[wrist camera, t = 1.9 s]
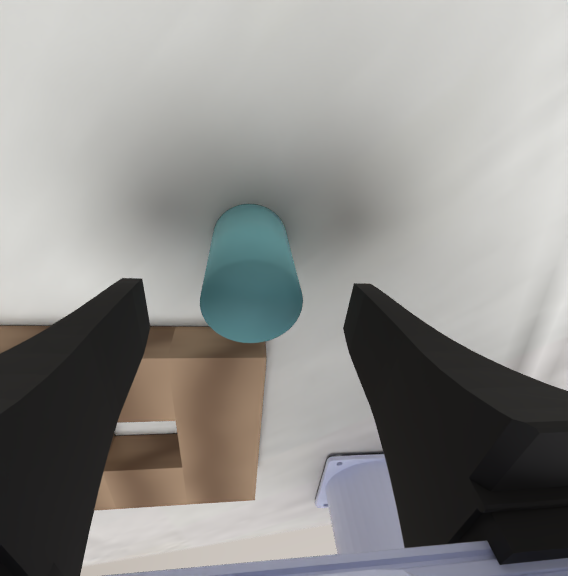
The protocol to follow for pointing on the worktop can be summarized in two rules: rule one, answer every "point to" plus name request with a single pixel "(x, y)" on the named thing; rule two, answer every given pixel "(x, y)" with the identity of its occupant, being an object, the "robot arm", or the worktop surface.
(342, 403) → the worktop surface
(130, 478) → the walnut collar plate
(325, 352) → the worktop surface
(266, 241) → the teal peg
